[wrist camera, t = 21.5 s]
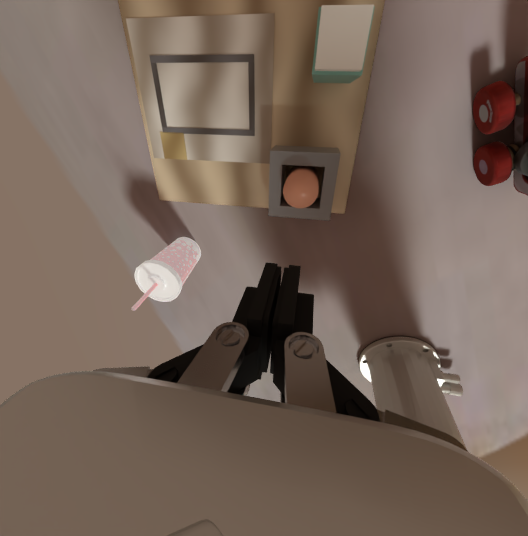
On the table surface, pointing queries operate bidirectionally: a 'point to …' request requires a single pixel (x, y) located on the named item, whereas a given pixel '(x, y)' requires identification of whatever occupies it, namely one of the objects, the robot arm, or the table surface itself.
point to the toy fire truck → (498, 118)
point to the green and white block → (341, 42)
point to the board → (238, 94)
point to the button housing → (302, 157)
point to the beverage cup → (167, 271)
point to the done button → (301, 186)
